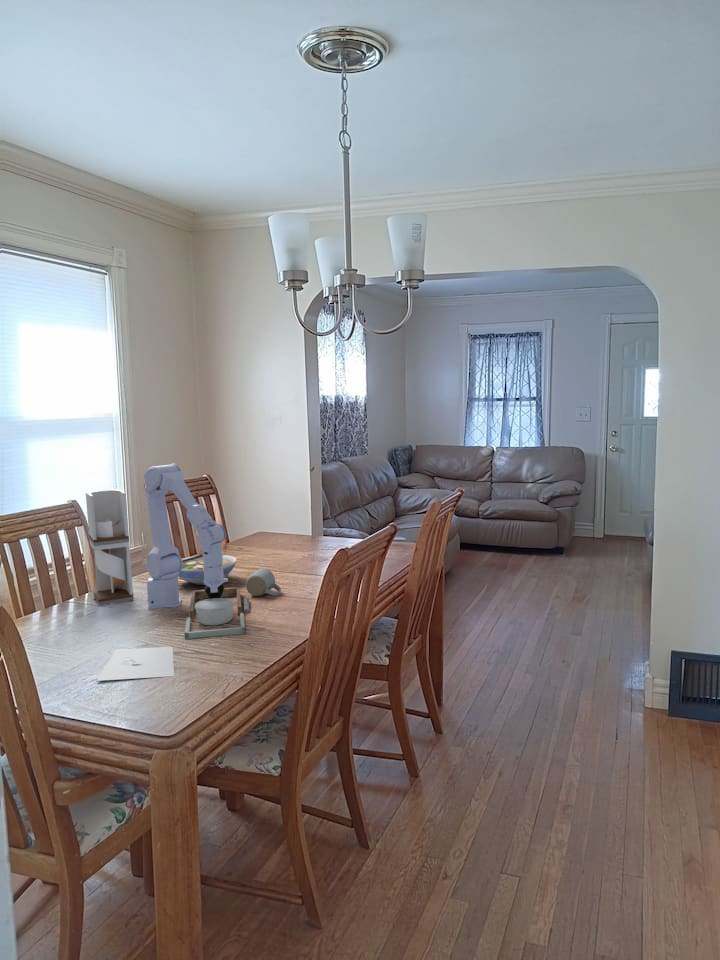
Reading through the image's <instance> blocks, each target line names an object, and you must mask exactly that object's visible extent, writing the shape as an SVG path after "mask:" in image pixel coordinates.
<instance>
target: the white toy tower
mask: <svg viewBox="0 0 720 960" xmlns="http://www.w3.org/2000/svg"><path fill="white" fill-rule="evenodd" d="M85 501H86V503H85V504H86V514H87V525H88V538H89V545H90V546H91V548H92V549H93V552H94V553H93V555H94V556H93V557H94V566H95V578H96V579H95V581H96V590H93V599H94V600H95V599H96V600H95V602H96V601H97V602H96V603H98V604H97V605H98V606H99V605H101V606H105V605H104V604H107V605H112V604H111V603H114V604H119V602H120V603H126V602H131V601H134V591H133V590H134V589H133V577H132V563H131V562H132V561H131V550H130V549H131V548H130V534H129V532H130V531H129V520H128V507H127V504H128V503H127V493H126V491H124V490H123V489H120V488H117V489H106V490H95V491H94V490H93V491H85Z"/></svg>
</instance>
